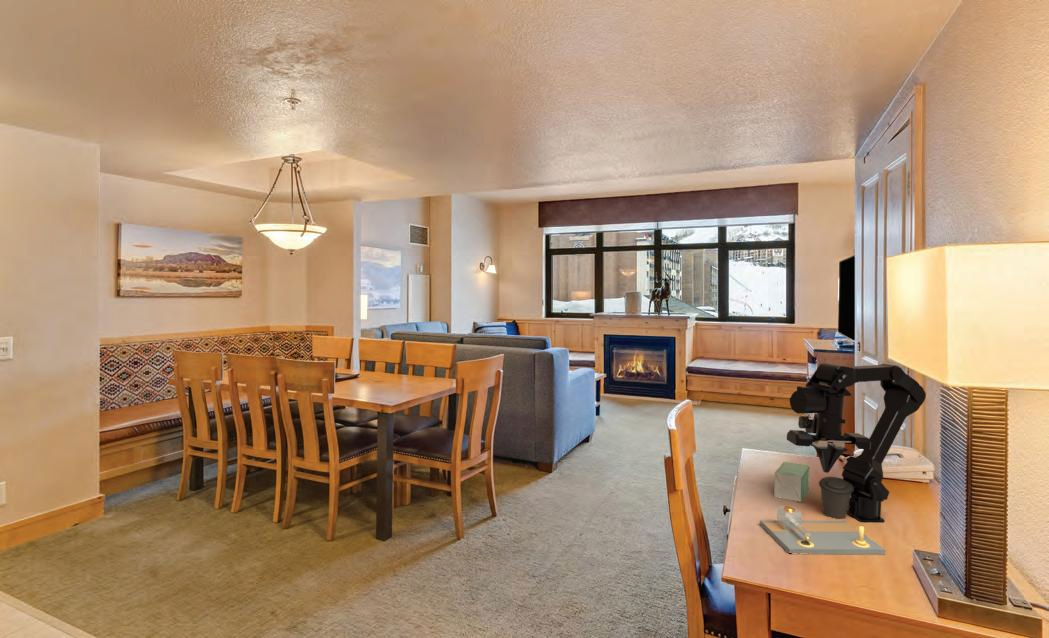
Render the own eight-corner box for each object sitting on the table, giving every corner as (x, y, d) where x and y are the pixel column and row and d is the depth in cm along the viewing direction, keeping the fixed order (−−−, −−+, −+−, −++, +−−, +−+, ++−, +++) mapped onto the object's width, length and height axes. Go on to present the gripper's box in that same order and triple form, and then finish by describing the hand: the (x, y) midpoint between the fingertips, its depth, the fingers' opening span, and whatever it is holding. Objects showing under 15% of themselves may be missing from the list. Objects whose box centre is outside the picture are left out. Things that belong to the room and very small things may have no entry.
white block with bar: (792, 523, 134) (793, 504, 134) (816, 544, 123) (817, 524, 123) (776, 523, 134) (777, 504, 134) (799, 544, 123) (800, 524, 123)
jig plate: (844, 525, 136) (845, 504, 136) (884, 554, 121) (886, 531, 121) (759, 524, 136) (760, 504, 136) (789, 554, 121) (790, 531, 121)
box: (809, 488, 161) (809, 464, 161) (801, 503, 150) (802, 477, 150) (782, 483, 166) (783, 460, 165) (773, 497, 155) (774, 472, 154)
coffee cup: (810, 512, 145) (812, 479, 142) (829, 502, 148) (831, 470, 145) (839, 528, 137) (841, 494, 135) (858, 517, 141) (861, 484, 138)
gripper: (848, 407, 144) (844, 464, 145) (779, 404, 144) (775, 460, 145) (874, 417, 133) (869, 478, 133) (799, 413, 133) (794, 474, 134)
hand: (825, 472), depth 137 cm, fingers closed
